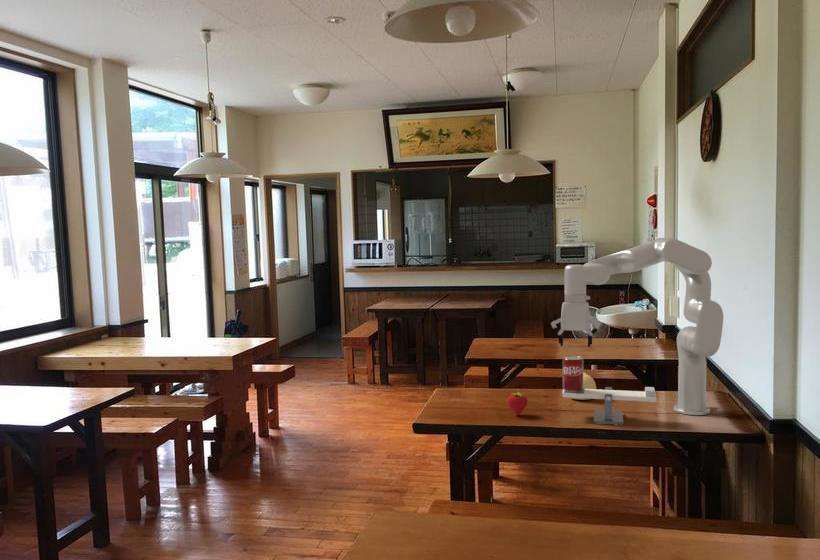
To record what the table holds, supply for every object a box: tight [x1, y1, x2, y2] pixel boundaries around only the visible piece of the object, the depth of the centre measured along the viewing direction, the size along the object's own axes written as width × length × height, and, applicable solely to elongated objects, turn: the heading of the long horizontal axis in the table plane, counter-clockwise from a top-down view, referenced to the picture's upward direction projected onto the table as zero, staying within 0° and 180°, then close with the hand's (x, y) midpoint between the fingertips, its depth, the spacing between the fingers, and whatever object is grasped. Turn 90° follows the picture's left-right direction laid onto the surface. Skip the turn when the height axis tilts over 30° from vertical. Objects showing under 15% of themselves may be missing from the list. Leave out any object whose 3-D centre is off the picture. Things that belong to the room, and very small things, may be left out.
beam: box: [561, 386, 658, 403], centre depth 242 cm, size 32×8×4 cm, turn 73°
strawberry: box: [506, 388, 528, 416], centre depth 250 cm, size 6×8×10 cm
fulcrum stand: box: [593, 386, 624, 426], centre depth 242 cm, size 10×14×10 cm
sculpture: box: [569, 371, 597, 401], centre depth 271 cm, size 11×12×11 cm
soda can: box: [562, 355, 584, 392], centre depth 245 cm, size 7×7×12 cm
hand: (575, 345), depth 244 cm, fingers open, 9 cm apart
